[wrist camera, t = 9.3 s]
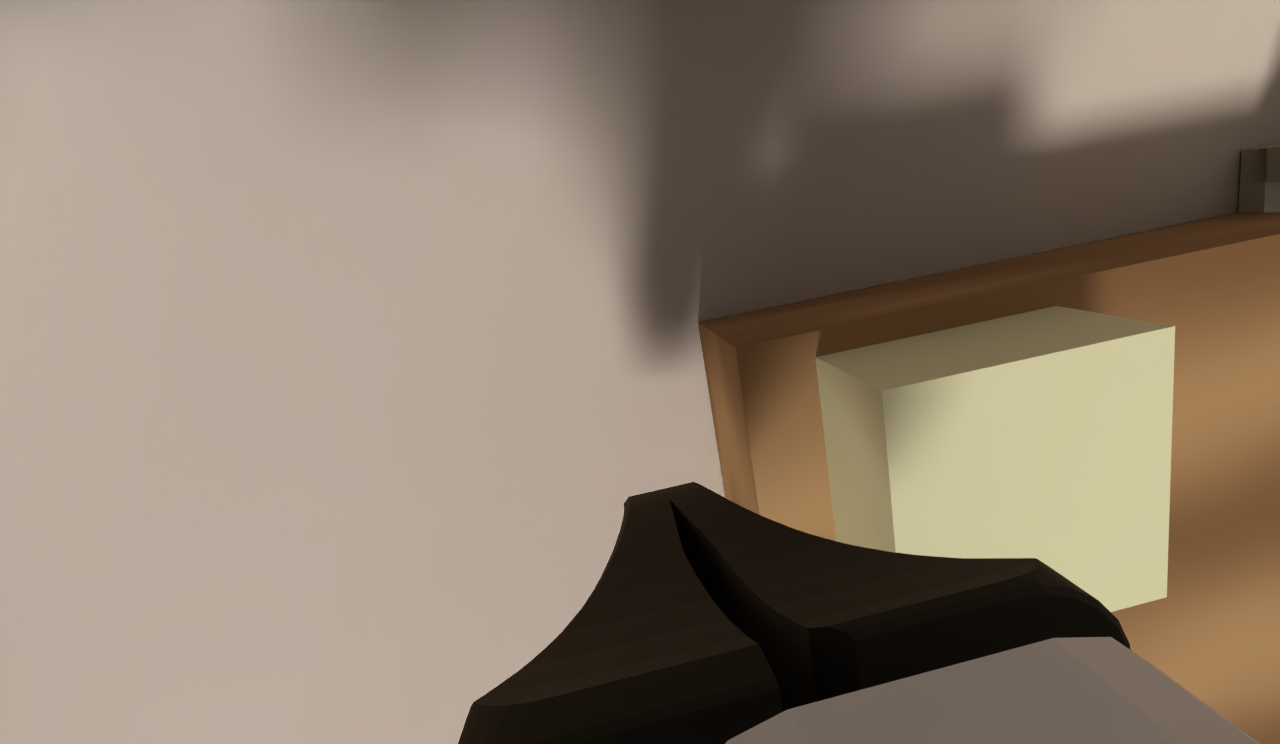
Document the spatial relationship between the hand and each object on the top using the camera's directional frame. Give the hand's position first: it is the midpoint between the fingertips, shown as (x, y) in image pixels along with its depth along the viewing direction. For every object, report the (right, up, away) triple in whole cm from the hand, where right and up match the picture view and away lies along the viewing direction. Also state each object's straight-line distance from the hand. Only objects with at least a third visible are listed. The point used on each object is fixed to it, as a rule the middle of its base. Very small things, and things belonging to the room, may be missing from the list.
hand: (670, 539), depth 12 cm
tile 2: (+6, +1, 0) cm, 6 cm away
